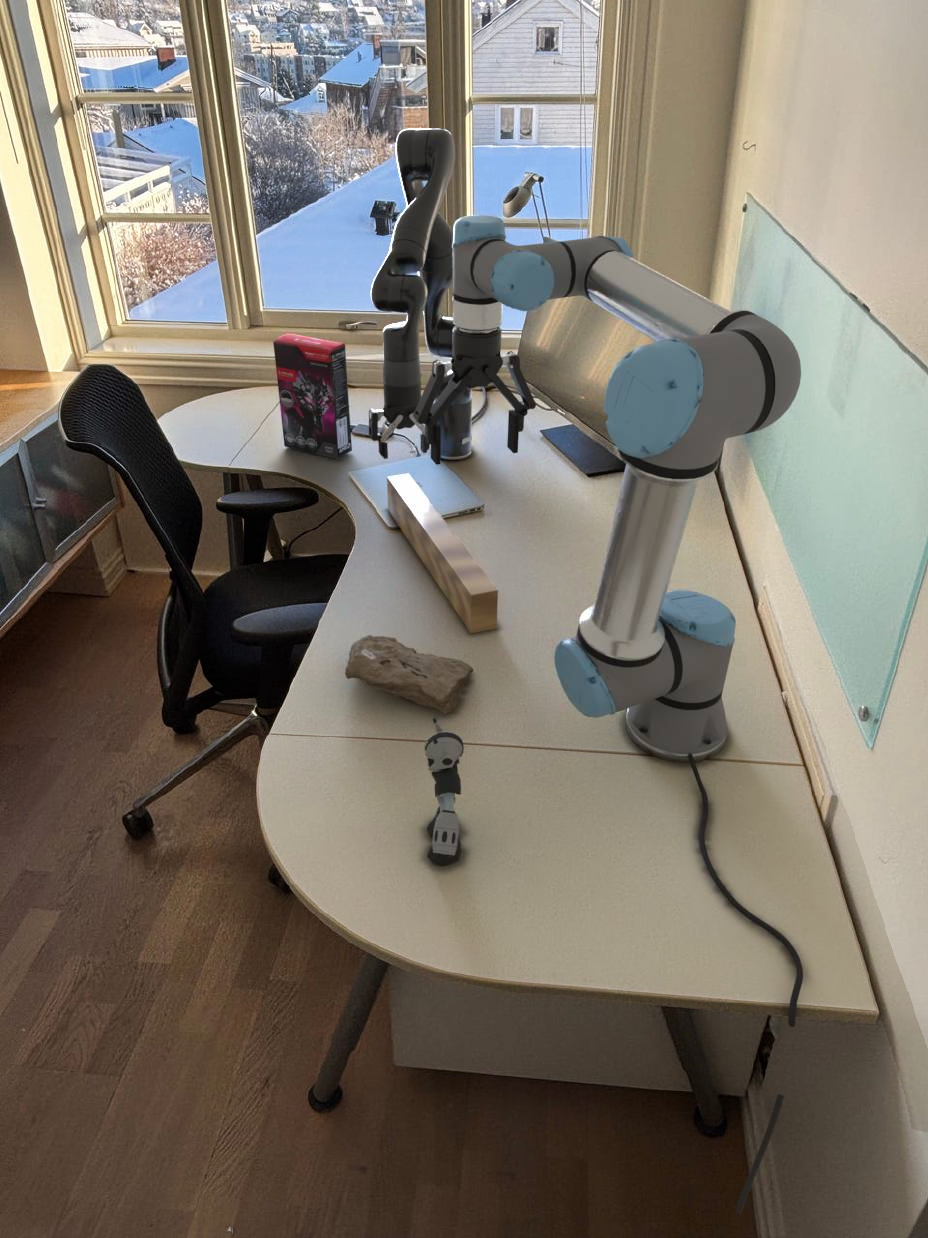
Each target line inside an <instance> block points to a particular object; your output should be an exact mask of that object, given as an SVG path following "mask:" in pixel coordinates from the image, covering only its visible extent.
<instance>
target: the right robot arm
mask: <svg viewBox="0 0 928 1238" xmlns="http://www.w3.org/2000/svg"><path fill="white" fill-rule="evenodd" d="M505 227H506V225H505V223H504V220H503V219H502V218H500V217H498V216H493V215H486V214H485V215H483V214H474V215H465V216H462V217H459V218H458V219H456V220H455V222H454V224H453V244H452V252H453V282H452V318H453V324H454V325H455V327H454V328H453V330H452V351H453V357H452V359H450V361H441V360H439V359H434V360H433V361H432V363H431V364H432V365H431V374H430V376H429V378H428V381H427V383H426V385H425V387H424V390H423V392H422V393H421V398H420V401H419V403H418V405H417V407H416V410H415V412H414V414H413V417H414V418H415V419H416V420H417V422H418V423H419V424H423V425H424V426H425V439H426V441H427V443H428V444H429V445H430V460H432V462H433V463H434V464H435V465H437V466H438V465H441V464H442V459H441V426H440V425H439V424H438V423H437V422H438V421H439V419H440V418H441V417H442V415H443V414H444V413H445V411H446V410H447V409H448V407H449V406H450V405H451V403H452V402H453V401H454V399H455V398H456V397H457V395H458V394H459V393H461V392H462V391H463V390H464V389H465V387H468V388H469V389H471V388H472V389H475V388H477V387H481V388H482V387H485V388H486V387H488V386H489V385H490V384H492V385H493V386H494V388H495V389H496V390H498V392H499V393H500V394H501V395H502V397H503V398H504V399H505V400H506V401H507V402H508V403H509V404H510V406H511V407H512V408H513V409H509V410H508V420H507V441H506V442H507V444H506V445H507V449H508V450H510V451H511V453H513V454H518V453H519V437H520V436H519V434H520V433H521V432H523V431H524V427H525V416H527V415H528V411H529V410H535V408H536V407H537V404H536V401H535V398H534V396H533V394H532V392H531V390H530V387H529V384H528V383H527V381H526V379H525V377H524V374H523V372H522V369H521V359H520V356H519V355H518V354H516V353H515V352H514V351H512V350H510V351H508V352H507V353H506V354H504V355H502V354H501V352H502V332H503V331H502V329H501V327H500V326H502V324H503V305H504V307H505V306H506V307H509V308H510V309H514V310H518V311H521V312H533V311H535V310H537V309H538V308H540V307H541V306H543V305H544V304H545V303H546V302H547V301H549V300H556V299H563V298H570V297H571V298H573V297H584V298H586V299H587V300H589V301H591V302H593V303H594V304H596V305H597V306H599V307H600V308H602V309H603V310H605V311H607V312H608V313H609V314H611V315H612V316H615V317H616V318H618V319H620V321H622V322H624V323H625V324H627V325H629V326H630V327H632V328H633V329H635V330H636V331H638V332H640V333H642V334H643V335H645V336H646V337H648V338H649V339H650V340H652V341H653V342H652V343H649V344H644V345H640V346H637V347H635V348H633V349H632V350H631V351H629V352H627V353H625V355H624V356H622V358H621V359H620V360H618V362H617V363H616V365H615V366H614V368H613V370H612V371H611V374H610V376H609V379H608V381H607V384H606V388H605V393H604V400H603V412H604V414H605V415H607V420H606V421H605V426H606V429H607V432H608V434H609V436H610V439H611V441H612V442H613V444H614V445H615V446H616V451H617V455H618V456H619V458H620V459H621V460H622V461H623V463H624V464H625V467H624V472H623V476H622V481H621V486H620V490H619V494H618V498H617V503H616V508H615V512H614V517H613V521H612V526H611V531H610V535H609V539H608V543H607V548H606V552H605V557H604V562H603V566H602V570H601V575H600V579H599V584H598V588H597V593H596V598H595V602H594V604H592V605H590V606H589V607H587V608H586V609H585V610H584V611H583V612H582V613H581V615H580V617H579V621H578V627H577V630H576V635H574V636H573V637H566V638H564V639H563V640H561V641H560V642H558V643H557V645H556V646H555V649H554V667H555V671H556V674H557V677H558V680H559V682H560V685H561V688H562V690H563V692H564V694H565V695H566V697H567V699H568V700H569V702H570V703H571V705H572V706H573V707H574V708H575V709H576V710H577V711H578V713H581V714H582V715H583V716H585V717H587V718H593V719H597V718H598V719H599V718H600V717H604V716H608V715H610V716H612V715H616V713H618V712H621V711H624V710H626V709H627V711H626V719H625V728H626V732H627V734H628V736H629V738H630V739H631V741H632V742H634V744H636V745H637V746H638V747H639V748H640V749H641V750H643V751H645V752H646V753H648V754H650V755H651V756H654V757H656V758H659V759H662V760H666V761H670V762H675V763H689V764H690V766H691V770H692V773H693V776H694V779H695V782H696V784H697V787H698V789H699V791H700V794H701V799H702V817H701V822H700V826H699V831H698V843H699V849H700V851H701V855H702V859H703V861H704V864H705V866H706V869H707V871H708V873H709V874H710V877H711V878H712V880H713V881H714V883H715V884H716V886H717V888H718V889H719V890H720V891H721V893H722V894H723V895H724V897H725V898H726V899H727V901H728V902H729V903H730V904H731V905H732V906H733V907H734V908H735V909H736V910H737V911H738V912H739V913H741V914H742V915H743V916H744V917H745V918H747V919H748V920H750V921H752V922H753V923H755V925H757V926H759V927H761V929H764V930H765V931H766V932H768V933H770V934H771V935H772V936H774V937H775V938H776V940H778V941H780V942H781V944H782V945H783V946H784V947H785V948H786V949H787V951H788V952H789V954H790V956H791V957H792V960H793V962H794V966H795V981H794V984H793V988H792V992H791V995H790V998H789V999H790V1000H789V1006H788V1007H789V1008H788V1015H787V1016H788V1017H787V1024H788V1026H789V1027H790V1028H795V1026H796V1017H797V1016H796V1014H797V1006H798V1001H799V996H800V992H801V989H802V988H801V987H802V984H803V979H804V969H803V964H802V961H801V958H800V956H799V953H798V952H797V950H796V949H795V947H794V946H793V944H792V943H791V942H790V941H789V939H787V937H785V935H783V934H782V933H781V932H780V931H779V930H777V929H776V928H774V927H773V926H771V925H770V924H769V923H768V922H766V921H764V920H763V919H761V918H759V917H758V916H756V915H755V914H754V913H752V912H751V911H749V910H748V909H746V908H745V907H744V906H743V905H742V904H741V903H739V902H738V900H737V899H736V898H735V897H734V895H733V894H732V893H731V892H730V891H729V890H728V889H727V887H726V886H725V885H724V883H723V882H722V880H721V879H720V877H719V876H718V873H717V872H716V871H715V869H714V867H713V864H712V862H711V860H710V856H709V853H708V850H707V846H706V841H705V839H706V838H705V837H706V828H707V824H708V818H709V811H710V810H709V809H710V807H709V806H710V805H709V798H708V794H707V792H706V789H705V786H704V784H703V781H702V778H701V776H700V773H699V770H698V767H697V764H696V762H700V761H703V760H706V759H709V758H711V757H714V755H716V754H718V752H720V751H721V750H722V748H723V747H724V744H725V743H726V740H727V739H726V738H727V734H728V721H727V716H726V712H725V708H724V707H725V706H724V701H723V692H724V686H725V682H726V678H727V674H728V669H729V664H730V661H731V655H732V652H733V647H734V644H735V642H736V637H735V632H736V627H737V626H736V625H737V624H736V617H735V615H734V614H733V612H732V610H731V609H730V608H729V607H728V606H727V605H726V604H724V603H723V602H722V601H720V600H719V599H717V598H715V597H712V596H710V595H707V594H705V593H702V592H698V591H695V590H694V591H693V590H688V589H673V590H668V588H669V586H670V581H671V578H672V575H673V572H674V567H675V565H676V560H677V556H678V554H679V550H680V547H681V544H682V541H683V536H684V533H685V529H686V527H687V523H688V519H689V515H690V512H691V510H692V509H691V508H692V506H693V502H694V499H695V495H696V491H697V488H698V485H699V481H701V480H703V479H705V478H708V477H709V476H711V475H712V474H714V472H715V471H716V469H717V467H718V464H719V460H720V458H721V454H722V450H723V447H724V444H725V442H726V440H728V439H730V438H736V437H739V436H743V435H748V434H752V433H755V432H759V431H762V430H765V428H767V427H770V426H772V425H773V424H774V423H776V422H777V421H778V420H780V419H781V417H782V416H784V415H785V414H786V412H788V410H789V409H790V407H791V406H792V404H793V402H794V400H795V399H796V397H797V394H798V392H799V389H800V385H801V379H802V367H801V358H800V355H799V352H798V350H797V348H796V345H795V344H794V342H793V341H792V340H791V339H790V337H789V336H788V334H786V333H785V331H784V330H782V329H781V328H779V327H778V326H777V325H776V324H775V323H772V322H771V321H769V320H767V319H766V318H764V317H761V316H759V315H758V314H756V313H754V312H752V311H750V310H748V309H738V310H734V311H731V310H729V309H727V308H725V307H724V306H721V305H720V304H718V303H716V302H714V301H712V300H710V299H708V298H707V297H705V296H703V295H701V294H699V293H698V292H695V291H694V290H692V289H690V288H689V287H686V286H685V285H683V284H681V283H679V282H677V281H676V280H673V279H671V278H670V277H668V276H666V275H664V274H663V273H660V272H659V271H657V270H655V269H653V268H651V267H649V266H648V265H646V264H644V263H642V262H640V261H638V260H637V259H635V257H634V254H633V250H632V248H631V247H629V243H628V241H627V240H626V239H624V238H622V237H620V236H615V235H614V236H605V235H598V236H593V237H587V238H578V239H569V240H562V241H552V242H541V243H533V244H523V245H522V244H521V245H516V244H512V243H510V242H508V241H506V239H507V234H506V228H505ZM502 366H504V367H505V368H506V369H507V370H508V372H509V373H510V376H511V378H512V380H513V383H514V385H515V387H516V389H517V391H518V393H519V396H520V398H521V401H520V400H519V399H518V398H517V397H516V396H515V395H514V393H513V392H512V391H511V390H510V389H509V387H508V386H507V385H506V384H505V383H504V381H503V380H502V379H501V378H500V376H499V375H498V373H499V372H500V370H501V369H502ZM450 370H452V372H453V373H454V375H453V376H452V377H451V379H450V380H449V382H448V385H447V387H446V388H445V389H444V391H443V392H442V393H441V395H440V396H439V397H438V399H437V400H436V401H435V398H436V396H437V394H438V392H439V390H440V388H441V385H442V383H443V380H444V377H445V376H447V374H448V372H449V371H450ZM458 382H459V383H458ZM434 401H435V403H434ZM433 403H434V404H433ZM784 1099H785V1095H782V1094H778V1093H777V1094H776V1098H775V1102H774V1104H773V1105H774V1106H773V1108H772V1111H771V1115H770V1118H769V1121H768V1124H767V1126H766V1130H765V1133H764V1135H763V1138H762V1141H761V1142H760V1145H759V1149H758V1151H757V1154H756V1156H755V1159H754V1161H753V1163H752V1166H751V1168H750V1171H749V1174H748V1176H747V1179H746V1182H745V1184H744V1186H743V1189H742V1191H741V1194H740V1198H739V1200H738V1203H737V1207H736V1209H735V1211H736V1213H737V1214H738V1215H741V1214H742V1213H743V1210H744V1207H745V1204H746V1201H747V1198H748V1196H749V1193H750V1190H751V1189H752V1186H753V1183H754V1180H755V1178H756V1176H757V1173H758V1171H759V1168H760V1166H761V1163H762V1160H763V1158H764V1156H765V1153H766V1151H767V1148H768V1146H769V1143H770V1141H771V1139H772V1135H773V1133H774V1129H775V1127H776V1124H777V1122H778V1118H779V1115H780V1112H781V1109H782V1106H783V1102H784Z"/></svg>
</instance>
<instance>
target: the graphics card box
mask: <svg viewBox="0 0 928 1238" xmlns="http://www.w3.org/2000/svg"><path fill="white" fill-rule="evenodd" d="M272 344H273V345H272V346H273V349H274V350H273V353H274V361H275V362H274V363H275V371H276V380H277V381H276V382H277V390H278V398H279V399H278V400H279V408H280V417H281V418H280V419H281V428H282V435H283V436H282V437H283V446H284V447H285V448H289V449H294V450H298V451H302V452H306V453H311V454H315V455H319V456H323V457H328V458H333V459H336V460H338V459H339V460H340V458H342V457H344V456H346V455H347V454H349V453H350V452H352V451H353V446H352V429H351V415H350V402H349V401H350V400H349V385H348V370H347V356H346V343H345V342H339V341H338V342H337V341H333V340H327V339H321V338H317V337H311V336H305V335H300V334H295V333H289V332H288V333H285V334H282V335H280V336H279V337H277V338H276V339H274V340H273V342H272Z"/></svg>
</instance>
